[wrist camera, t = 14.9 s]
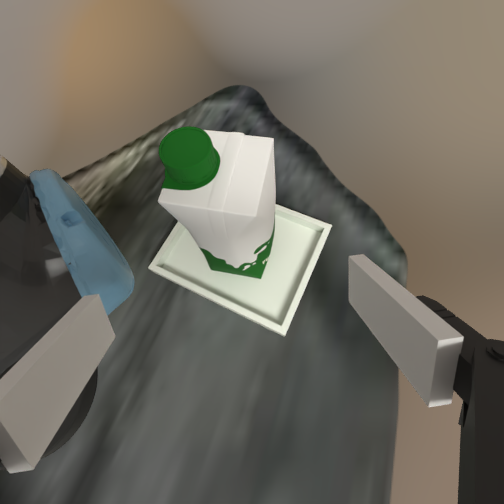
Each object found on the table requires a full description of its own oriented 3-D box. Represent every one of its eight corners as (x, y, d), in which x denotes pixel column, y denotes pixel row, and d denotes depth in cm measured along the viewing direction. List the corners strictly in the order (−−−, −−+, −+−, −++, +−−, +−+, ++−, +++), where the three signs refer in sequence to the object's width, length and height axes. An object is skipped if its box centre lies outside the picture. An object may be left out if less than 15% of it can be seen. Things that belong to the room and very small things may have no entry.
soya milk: (218, 219, 40) (172, 100, 22) (278, 229, 39) (284, 110, 20) (202, 275, 37) (134, 192, 19) (267, 287, 36) (263, 211, 17)
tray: (154, 273, 38) (147, 268, 36) (209, 186, 43) (206, 177, 41) (284, 336, 34) (285, 335, 32) (328, 232, 39) (332, 225, 37)
